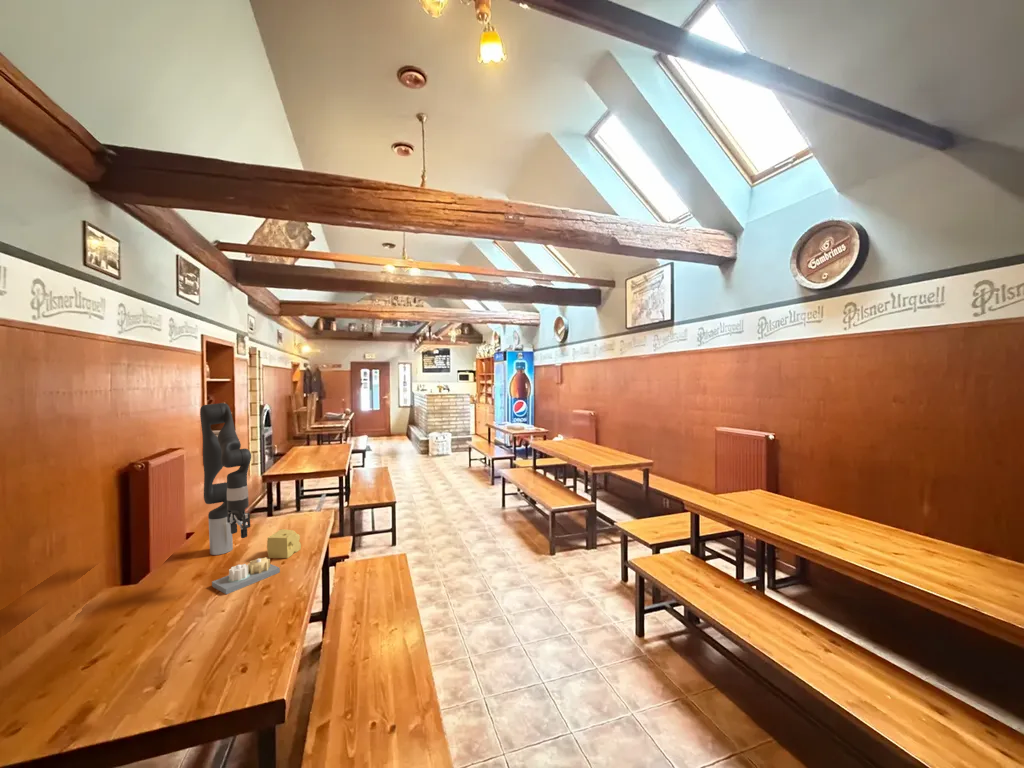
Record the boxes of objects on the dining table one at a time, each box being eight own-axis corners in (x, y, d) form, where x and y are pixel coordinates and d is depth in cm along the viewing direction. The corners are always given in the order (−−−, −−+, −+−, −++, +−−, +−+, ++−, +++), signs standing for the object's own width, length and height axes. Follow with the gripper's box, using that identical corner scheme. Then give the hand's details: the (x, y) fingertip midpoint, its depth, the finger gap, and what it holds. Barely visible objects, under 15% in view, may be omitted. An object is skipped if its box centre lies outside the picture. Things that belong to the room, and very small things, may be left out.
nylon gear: (226, 578, 174) (226, 568, 174) (243, 571, 179) (243, 562, 179) (234, 582, 170) (234, 572, 170) (251, 575, 176) (250, 566, 176)
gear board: (212, 586, 172) (211, 569, 172) (265, 565, 190) (264, 550, 189) (226, 594, 165) (225, 576, 165) (279, 572, 183) (279, 556, 183)
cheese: (301, 549, 207) (300, 529, 207) (287, 559, 196) (286, 538, 196) (281, 549, 208) (280, 528, 208) (266, 558, 197) (265, 537, 197)
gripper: (219, 496, 177) (221, 534, 178) (236, 502, 169) (237, 542, 170) (238, 492, 183) (240, 528, 184) (255, 497, 176) (257, 535, 176)
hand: (239, 535), depth 177 cm, fingers open, 8 cm apart
